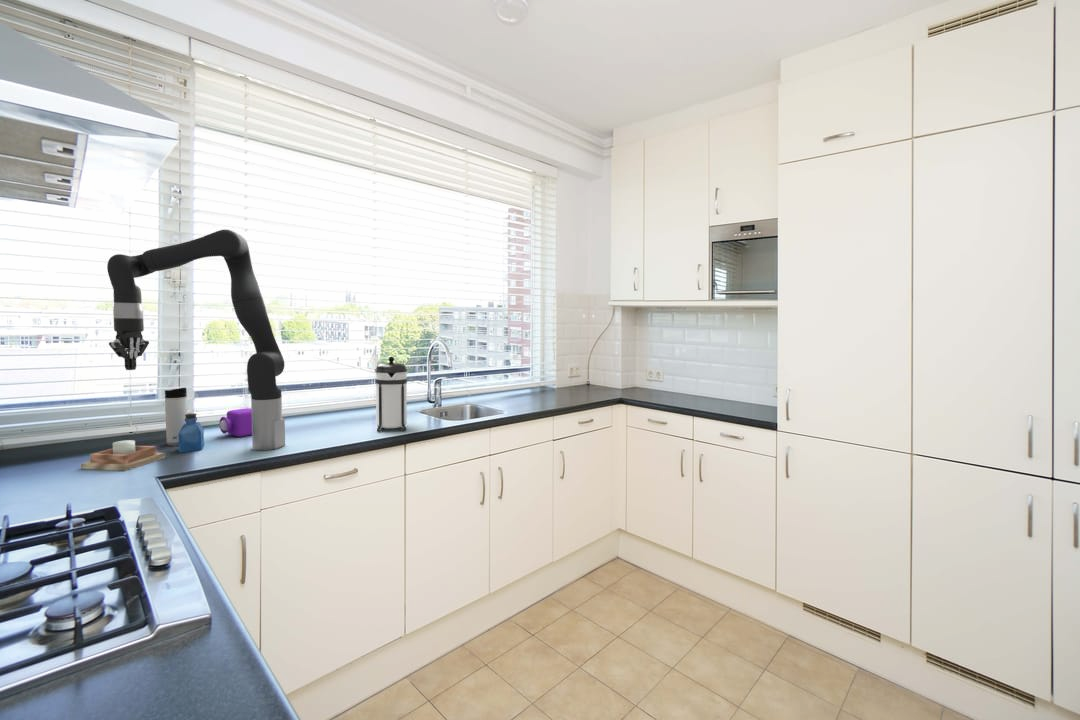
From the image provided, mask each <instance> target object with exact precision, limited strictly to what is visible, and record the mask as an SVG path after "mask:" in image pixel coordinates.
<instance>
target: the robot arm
mask: <svg viewBox="0 0 1080 720" xmlns="http://www.w3.org/2000/svg"><path fill="white" fill-rule="evenodd" d="M211 257H223V259H224V261H225V264H226V267H227V268H228V271H229V275H230V298H231V303H232V307H233V309H234V312H235V313H234V314H235V315H236V318H237V320H238V321H239V323H240V325H241V326H242V327H243V329H244V330H245V332H246V333H247V334H248V335H249V337H250V338H251V340H252V343H253V345H254V349H255V353H254V354H252V355H251V356H250V357H249V358H248V361H247V365H246V375H247V377H246V378H247V387H248V391H249V394H250V399H251V400H250V402H251V405H250V406H251V410H252V435H251V439H252V442H251V443H252V445H251V446H252V449H253V450H256V451H266V450H277V449H279V448H282V447H283V446H286V424H285V423H286V421H285V420H286V419H285V418H283V412H282V411H283V407H282V389H281V388H279V387H278V386H277V380H276V377H279V376H280V375H282V373H283V372H284V370H285V359H284V357H283V354H282V353H281V350H280V347H279V346H278V343H277V341H276V338H275V335H274V332H273V329H272V325H271V323H270V318H269V315H268V312H267V308H266V304H265V301H264V298H263V296H262V295H263V294H262V293H261V290H260V287H259V284H258V281H257V278H256V276H255V273H254V269H253V263H252V259H251V258H252V257H251V254H250V247H249V245H248V242H247V240H246V239H245V237H243V236H242V235H240V234H239V233H237V232H235V231H233V230H231V229H220V230H217V231H214V232H212V233H208V234H206V235H203V236H202V237H198V238H194V239H192V240H189V241H185V242H180V243H177V244H171V245H167V246H163V247H158V248H152V249H149V250H146V251H144V252H143V253H142V254H138V255H132V256H131V255H127V254H121V253H120V254H119V253H118V254H114V255H112V256H111V257H110V258H109V259H108V261H107V265H106V267H107V274H108V276H109V277H108V278H109V280H110V284H111V286H112V289H113V310H112V311H113V313H112V314H113V331H115V332H116V334H115V339H114V340H113V341H109V342H108V345H109V347H110V348H111V349H112V351H114V352H115V354H116V356H118V358H123V359H124V368H125V370H126V371H135V370H136V369H137V359H138V357H142V356H143V354H144V352H145V350H147V348H148V346H149V344H150V342H149V340H145V339H144V336H143V334H142V332H144V331H145V327H144V310H143V302H142V291H141V288H140V287H139V286H138V285H137V284H136V281H135V278H136V279H137V278H142V277H145V276H148V275H149V274H150V275H151V274H153V273H156V272H161V271H165V270H170V269H174V268H175V269H176V268H178V267H181V266H184V265H188V264H189V263H191V262H194V261H196V260H199V259H203V258H211Z"/></svg>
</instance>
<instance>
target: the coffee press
mask: <svg viewBox="0 0 1080 720" xmlns="http://www.w3.org/2000/svg"><path fill="white" fill-rule="evenodd" d="M387 360H388V362H382V363H379V364H377V366H376V368H375V369H374V373H375V378H374V379H375V380H374V381H375V382H374V383H375V407H376V408H375V414H376V415H375V416H376V418H375V419H376V420H375V423H376V426H377V428H376V432H377V433H383V430H385V429H396V428H397V429H399V430H401V432H407V426H406V425H407V424H408V423H407V420H408V419H407V418H408V415H407V413H408V411H407V409H408V408H407V407H408V406H407V405H408V402H407V396H408V395H407V393H408V392H407V390H408V389H407V383H408V378H407V375H408V374H407V373H408V371H409V370H408V368H407V366H406V365H405V364H404V363H400V362H394V361H395V358H394V356H389V358H388V359H387Z"/></svg>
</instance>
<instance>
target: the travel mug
mask: <svg viewBox="0 0 1080 720" xmlns="http://www.w3.org/2000/svg"><path fill="white" fill-rule="evenodd" d="M164 395H165V396H164V406H165V408H164V409H165V413H164V414H165V433H166V436H165V437H166V445H167V446H172V447H174V446H177V447H178V446H179V432H180V430H181V428H182V426H183V425H184V424H185V423H186V422H185V418H186V416H185V414H189V413H188V393H187V387H180V388H173V389H167V390H166V389H165V390H164Z"/></svg>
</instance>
